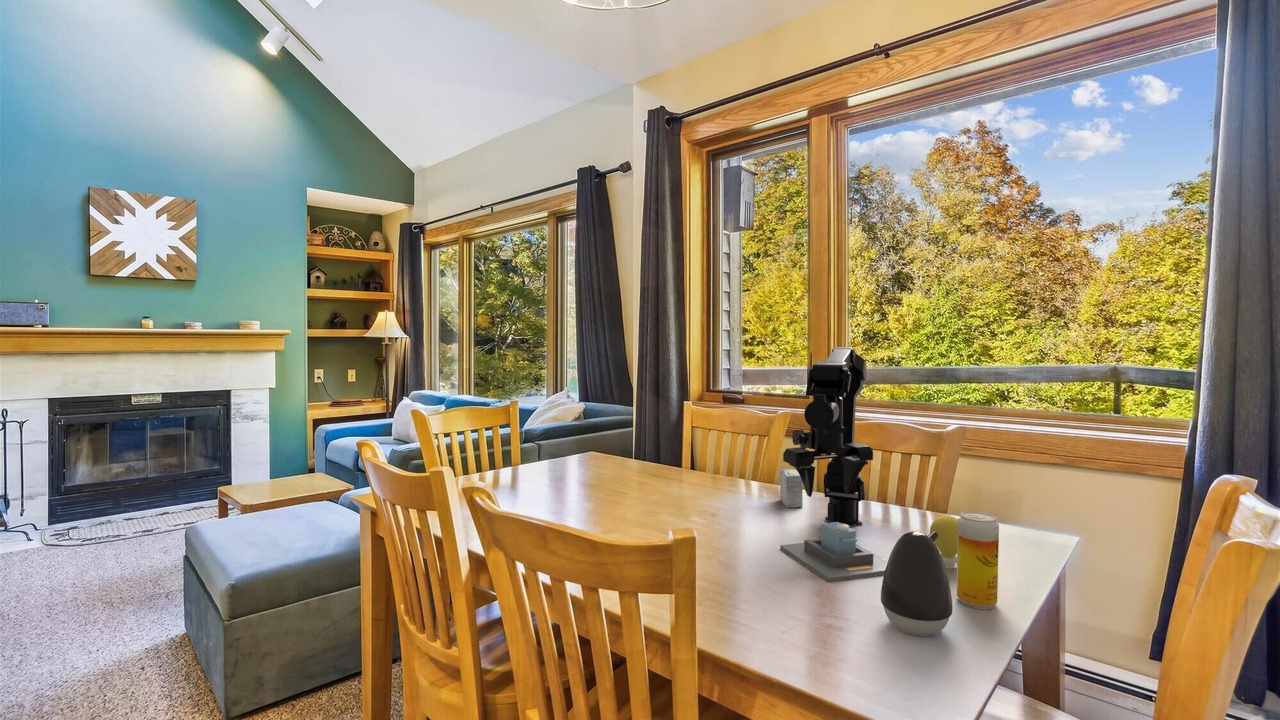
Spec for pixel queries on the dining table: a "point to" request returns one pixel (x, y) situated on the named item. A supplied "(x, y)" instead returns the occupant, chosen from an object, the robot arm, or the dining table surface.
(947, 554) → the light bulb
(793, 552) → the chassis plate
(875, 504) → the dining table surface
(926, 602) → the dark egg-shaped diffuser
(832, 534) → the block
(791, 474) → the medicine box
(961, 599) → the beer can
